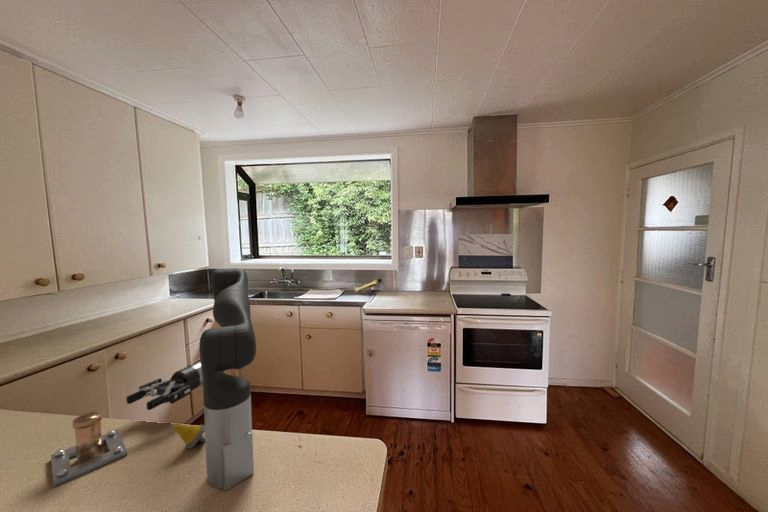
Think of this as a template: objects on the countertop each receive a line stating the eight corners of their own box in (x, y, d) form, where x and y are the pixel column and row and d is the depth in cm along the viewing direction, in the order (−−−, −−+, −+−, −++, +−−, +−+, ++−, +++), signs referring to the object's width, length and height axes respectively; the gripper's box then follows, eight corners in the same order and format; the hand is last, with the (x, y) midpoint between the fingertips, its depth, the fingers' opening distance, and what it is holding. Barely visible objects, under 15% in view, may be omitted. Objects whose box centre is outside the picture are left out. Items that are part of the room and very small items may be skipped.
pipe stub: (106, 455, 72) (103, 416, 71) (76, 468, 68) (73, 426, 67) (102, 446, 75) (100, 408, 74) (74, 458, 71) (71, 418, 70)
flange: (127, 454, 72) (126, 447, 72) (53, 487, 63) (52, 478, 63) (118, 433, 80) (117, 426, 79) (51, 459, 70) (50, 451, 70)
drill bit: (203, 453, 73) (166, 436, 69) (196, 453, 76) (159, 436, 72) (217, 430, 77) (182, 412, 73) (209, 430, 80) (176, 414, 76)
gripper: (177, 362, 98) (119, 386, 83) (208, 368, 93) (153, 395, 78) (178, 384, 99) (121, 411, 83) (209, 391, 94) (155, 422, 79)
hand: (137, 403), depth 81 cm, fingers open, 8 cm apart
